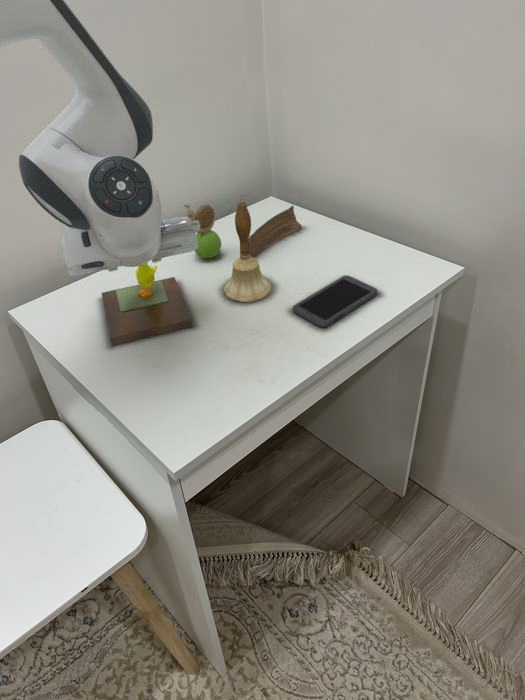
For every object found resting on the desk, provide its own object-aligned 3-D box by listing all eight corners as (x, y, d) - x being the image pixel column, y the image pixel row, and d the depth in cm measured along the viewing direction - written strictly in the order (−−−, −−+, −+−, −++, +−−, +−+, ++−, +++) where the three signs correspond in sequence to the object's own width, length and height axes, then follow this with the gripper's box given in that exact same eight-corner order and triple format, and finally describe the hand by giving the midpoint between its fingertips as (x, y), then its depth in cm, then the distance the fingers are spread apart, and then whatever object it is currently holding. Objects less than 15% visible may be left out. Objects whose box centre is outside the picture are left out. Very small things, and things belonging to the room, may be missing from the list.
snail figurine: (185, 260, 105) (175, 201, 97) (208, 246, 109) (200, 189, 101) (205, 268, 102) (196, 208, 95) (228, 254, 106) (221, 195, 98)
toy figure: (132, 306, 91) (117, 241, 83) (122, 298, 93) (106, 233, 85) (167, 291, 94) (155, 227, 86) (156, 283, 96) (143, 220, 88)
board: (112, 345, 85) (109, 337, 84) (103, 299, 96) (101, 291, 95) (192, 326, 88) (191, 318, 87) (175, 283, 99) (174, 276, 98)
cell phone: (379, 293, 92) (379, 289, 92) (323, 329, 85) (323, 325, 85) (346, 277, 97) (346, 274, 96) (290, 310, 90) (290, 307, 89)
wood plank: (255, 261, 103) (253, 237, 100) (247, 258, 104) (245, 234, 101) (301, 229, 112) (300, 206, 109) (292, 226, 113) (292, 204, 110)
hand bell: (248, 272, 100) (241, 188, 90) (281, 287, 96) (277, 201, 85) (214, 291, 96) (203, 205, 86) (246, 308, 91) (238, 220, 81)
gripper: (195, 198, 79) (190, 231, 92) (50, 226, 74) (67, 256, 88) (206, 240, 78) (200, 266, 92) (60, 269, 74) (76, 293, 87)
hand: (134, 262), depth 90 cm, fingers open, 6 cm apart
